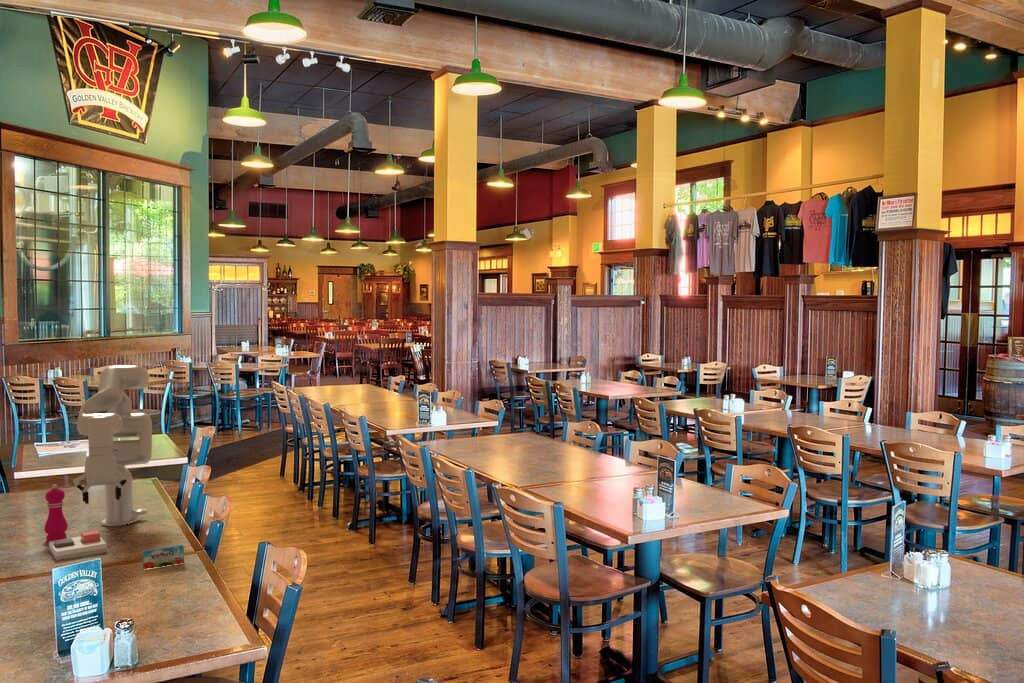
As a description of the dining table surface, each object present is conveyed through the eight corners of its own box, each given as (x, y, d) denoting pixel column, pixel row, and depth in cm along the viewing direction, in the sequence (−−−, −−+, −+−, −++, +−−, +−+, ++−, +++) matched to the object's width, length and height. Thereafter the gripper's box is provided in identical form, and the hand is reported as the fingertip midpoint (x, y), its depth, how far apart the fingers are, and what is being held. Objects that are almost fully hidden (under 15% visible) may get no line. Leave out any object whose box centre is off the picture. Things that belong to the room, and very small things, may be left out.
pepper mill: (57, 543, 283) (55, 486, 282) (39, 542, 285) (38, 486, 284) (72, 537, 290) (71, 482, 289) (55, 536, 292) (53, 481, 291)
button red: (97, 537, 280) (96, 529, 279) (100, 540, 276) (99, 533, 275) (81, 539, 276) (80, 532, 276) (83, 543, 273) (83, 535, 272)
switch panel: (97, 542, 284) (97, 533, 284) (106, 552, 272) (106, 543, 272) (49, 550, 275) (48, 541, 275) (56, 560, 263) (56, 551, 263)
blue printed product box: (143, 570, 253) (142, 551, 253) (142, 569, 254) (142, 550, 254) (184, 564, 259) (183, 545, 259) (183, 563, 260) (182, 544, 260)
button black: (71, 545, 275) (71, 538, 275) (74, 548, 271) (73, 541, 271) (54, 548, 272) (54, 540, 272) (57, 551, 268) (56, 544, 268)
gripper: (125, 448, 285) (127, 496, 285) (70, 453, 275) (72, 503, 275) (130, 450, 279) (131, 499, 279) (74, 455, 269) (75, 506, 269)
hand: (102, 501), depth 277 cm, fingers open, 9 cm apart
